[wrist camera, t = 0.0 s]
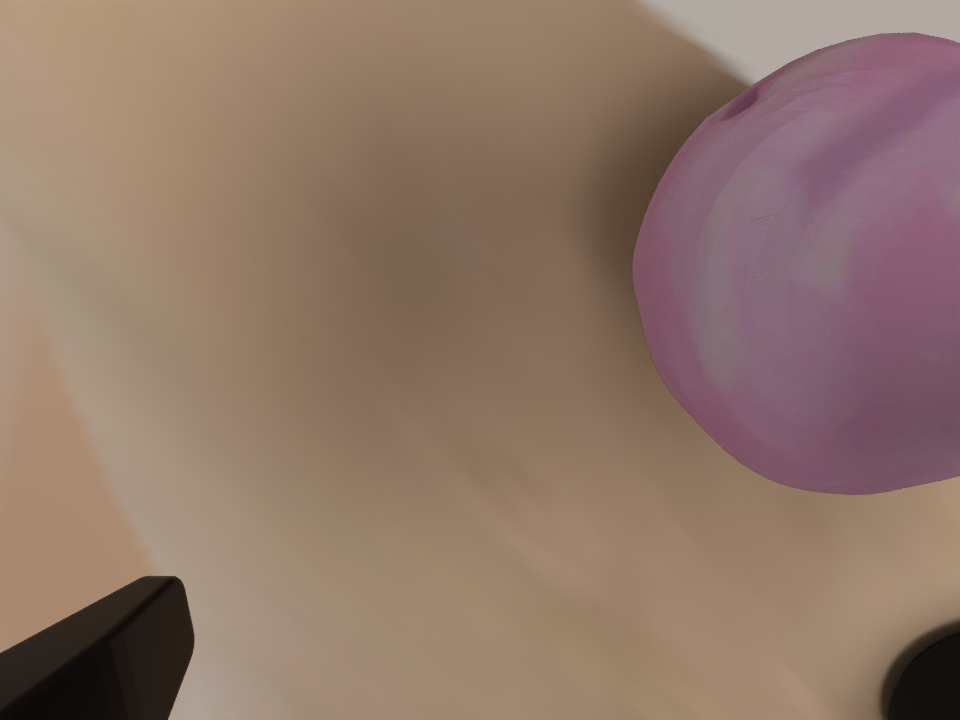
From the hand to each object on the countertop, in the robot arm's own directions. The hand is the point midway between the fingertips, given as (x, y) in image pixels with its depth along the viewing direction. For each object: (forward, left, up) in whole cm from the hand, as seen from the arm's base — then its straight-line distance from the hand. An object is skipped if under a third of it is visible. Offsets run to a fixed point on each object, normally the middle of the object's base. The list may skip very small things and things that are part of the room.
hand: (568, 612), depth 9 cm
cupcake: (+2, -6, -15) cm, 16 cm away
